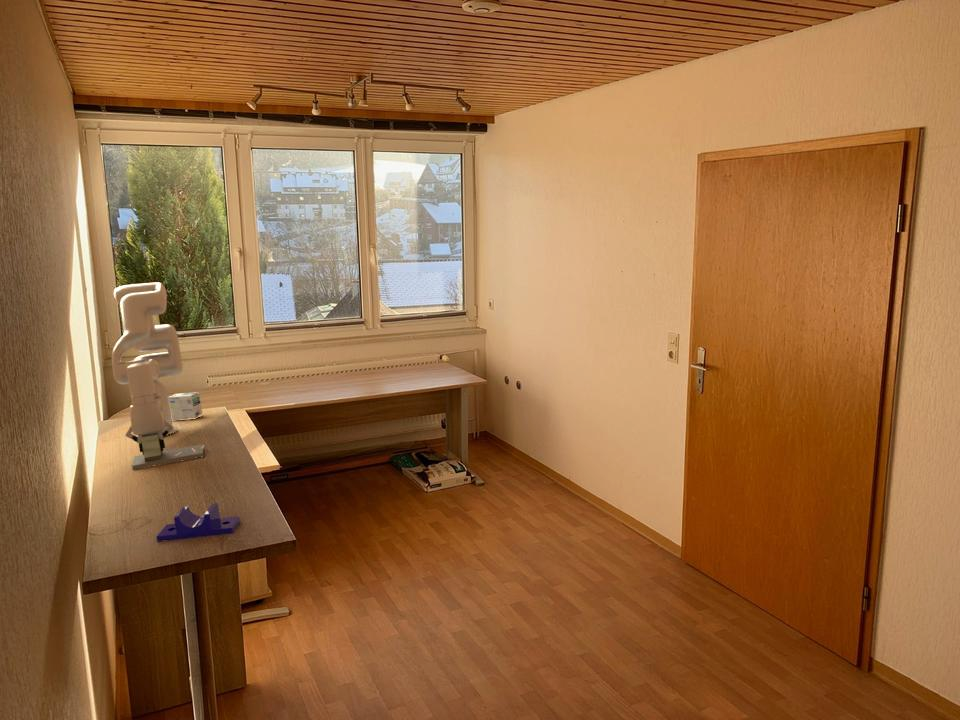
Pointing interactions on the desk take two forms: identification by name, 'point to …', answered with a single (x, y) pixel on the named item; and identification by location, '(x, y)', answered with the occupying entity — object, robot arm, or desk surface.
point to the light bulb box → (185, 405)
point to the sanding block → (151, 447)
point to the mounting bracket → (198, 525)
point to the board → (170, 456)
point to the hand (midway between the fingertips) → (153, 451)
